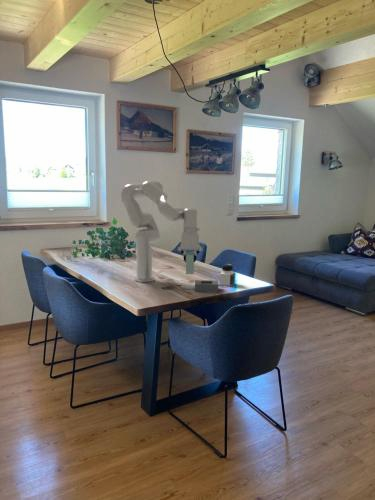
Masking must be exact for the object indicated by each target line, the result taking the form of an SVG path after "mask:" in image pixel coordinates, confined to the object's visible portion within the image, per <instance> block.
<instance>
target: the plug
mask: <svg viewBox="0 0 375 500" xmlns="http://www.w3.org/2000/svg"><path fill="white" fill-rule="evenodd" d="M194 273H195V262H194V251H186V262H185V274H186V275H195V274H194Z"/></svg>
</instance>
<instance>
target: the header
mask: <svg viewBox="0 0 375 500" xmlns="http://www.w3.org/2000/svg"><path fill="white" fill-rule="evenodd" d="M194 282H195V283H194V286H195V289H194V293H219V281H218V280H215V279H214V280H212V279H211V280H208V279H207V280H202V279H195V281H194Z"/></svg>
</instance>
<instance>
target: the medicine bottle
mask: <svg viewBox="0 0 375 500" xmlns="http://www.w3.org/2000/svg"><path fill="white" fill-rule="evenodd" d="M221 267H222V270H221V272H220V273H219V279H218V280H219V281H218V285H219V286H227V287H231V286H233V285H234V284H235V283H236V282H235V281H236V279H235V278H236V273H235V272H233V265H232V264H230V263H227V264H226V263H225V264H222V266H221Z"/></svg>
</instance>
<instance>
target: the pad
mask: <svg viewBox="0 0 375 500" xmlns="http://www.w3.org/2000/svg"><path fill="white" fill-rule="evenodd" d="M182 285H183V284H182ZM182 290H195V285H192V284H191V285H183V286H182Z"/></svg>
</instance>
